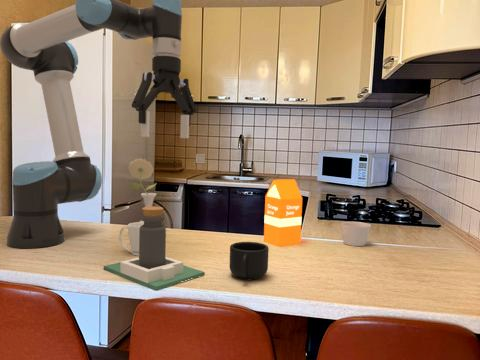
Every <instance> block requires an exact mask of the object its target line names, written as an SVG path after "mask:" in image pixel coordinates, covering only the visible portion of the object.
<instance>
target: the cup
mask: <svg viewBox="0 0 480 360" xmlns="http://www.w3.org/2000/svg"><path fill="white" fill-rule="evenodd" d="M142 225H144V222H139V221H137V222H130V223H128V224H127V226H123V227H121V228H120V230H119V233H118V242H119V243H120V245H121V246H122V247H123V248H124V249H125V250H126V251H127V252H129V253H131V255H132V256H133V255H134V256H139V231H140V227H141V226H142ZM124 229H127V231H128V238H129V245H130V248H128V246H126V245H125V244H124V242H123V240H122V234H123V233H122V232H123V231H124Z"/></svg>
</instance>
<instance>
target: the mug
mask: <svg viewBox="0 0 480 360" xmlns="http://www.w3.org/2000/svg"><path fill="white" fill-rule="evenodd" d="M269 249H270V248H269V246H268V245H267V244H265V243H261V242H257V241H255V242H254V241H239V242H234V243H231V244H230V245H229V271H230V272H231V274H232V275H233V276H235V277H237V278H238V279H241V278H242V280H248V279H251V280H257V279H259V278H262V277H264V276H265V275H266V274H267V272H268V269H269V252H270V251H269Z"/></svg>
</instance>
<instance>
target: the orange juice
mask: <svg viewBox="0 0 480 360" xmlns="http://www.w3.org/2000/svg"><path fill="white" fill-rule="evenodd" d="M264 197H265V198H264V199H265V200H264V202H265V203H264V217H263V219H264V221H263V222H264V226H263V242H264V243H267V244H270V245H272V246H276V247H278V248H279V247H280V248H281V247H286V246H287V247H288V246H292V245H293V246H294V245H300V244H301V242H302V241H301V237H302V236H301V235H302V234H301V233H302V219H303V217H302V213H303V196H302V194H301V192H300V189H299V187H298V183H297V182H296V179H295V178H288V179H287V178H286V179H285V178H284V179H273V180H272V182H271V185H270V186H269V188H268V189H267V192H266V194H265V196H264Z"/></svg>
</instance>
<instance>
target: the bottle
mask: <svg viewBox="0 0 480 360" xmlns="http://www.w3.org/2000/svg"><path fill="white" fill-rule="evenodd" d="M141 211H142V214H141V217H140V221H141V220H142V221H144V225H142V226H141V227H140V231H139V255H138V256H139V257H138V258H139V266H141V267H144V268H146V269H152V268H156V267H160V266H163V265H165V257H166V237H167V234H166V233H167V229H166V226H165V225H164V224H162V223H163V222H164V221H165V216H164V215H163V212H164V207H161V206H155V205H154V206H153V205H152V206H151V207H145V206H144V207H142V208H141Z"/></svg>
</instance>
